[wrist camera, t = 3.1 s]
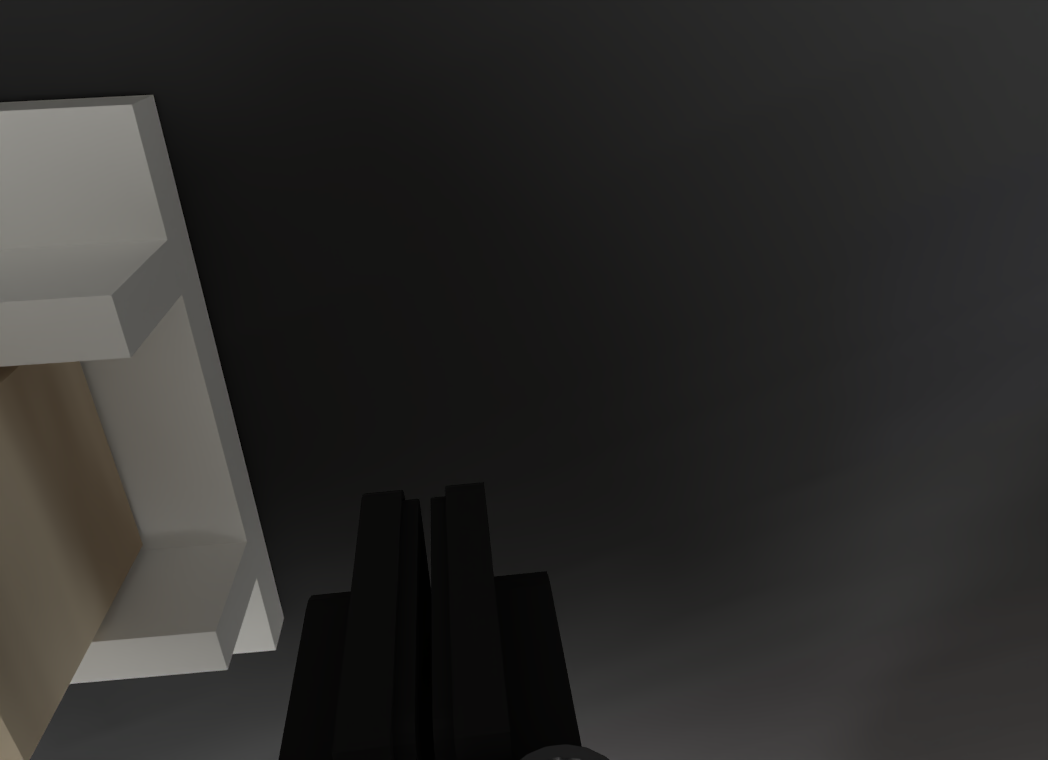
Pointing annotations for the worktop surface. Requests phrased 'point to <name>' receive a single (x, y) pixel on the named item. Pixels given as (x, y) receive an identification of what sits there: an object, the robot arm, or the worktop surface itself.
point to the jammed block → (53, 542)
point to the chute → (135, 376)
